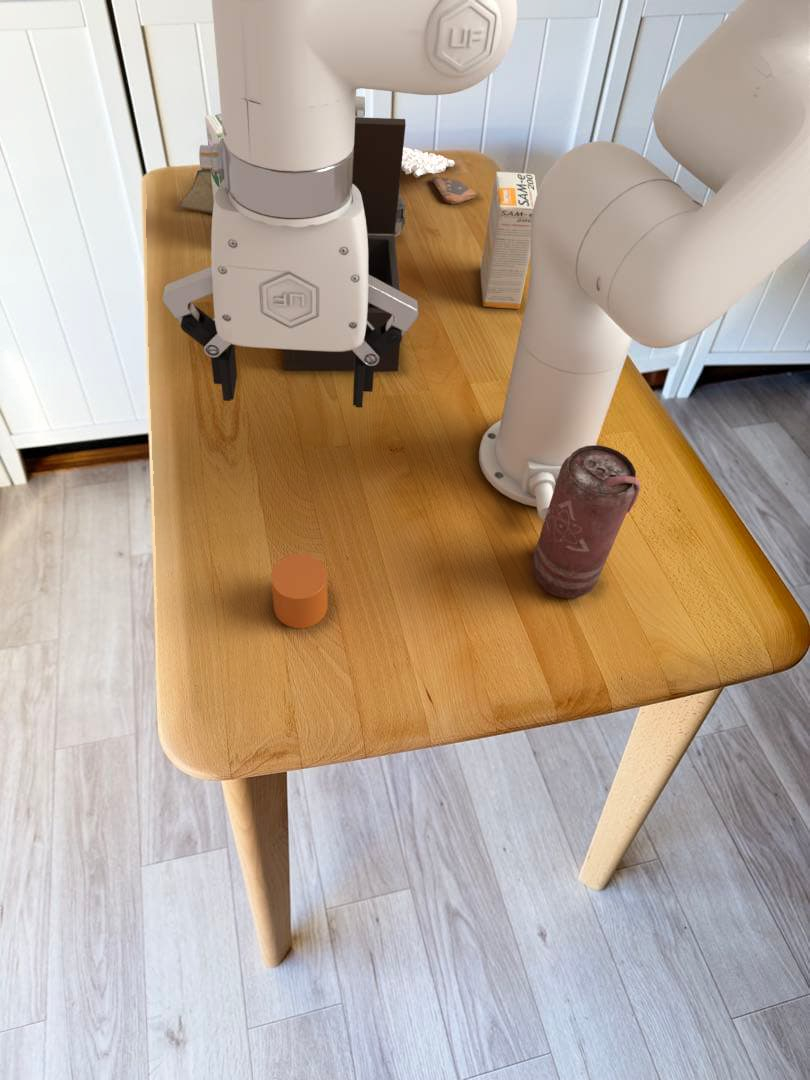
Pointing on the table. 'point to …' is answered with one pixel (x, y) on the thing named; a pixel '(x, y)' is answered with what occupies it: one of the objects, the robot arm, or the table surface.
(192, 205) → the ceramic shard
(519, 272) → the supplement box
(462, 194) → the pottery shard
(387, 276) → the box
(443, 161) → the salt crystals
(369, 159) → the chamber lid
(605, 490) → the can
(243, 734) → the table surface
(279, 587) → the orange cylinder
